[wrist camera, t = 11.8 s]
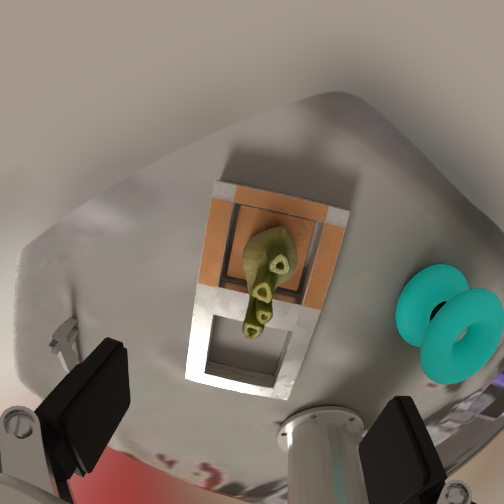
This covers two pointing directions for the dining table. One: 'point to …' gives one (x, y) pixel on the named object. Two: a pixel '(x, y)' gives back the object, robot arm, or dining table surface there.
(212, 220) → the orange and grey tray
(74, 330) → the caliper
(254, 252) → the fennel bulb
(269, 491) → the dining table surface
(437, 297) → the donuts
